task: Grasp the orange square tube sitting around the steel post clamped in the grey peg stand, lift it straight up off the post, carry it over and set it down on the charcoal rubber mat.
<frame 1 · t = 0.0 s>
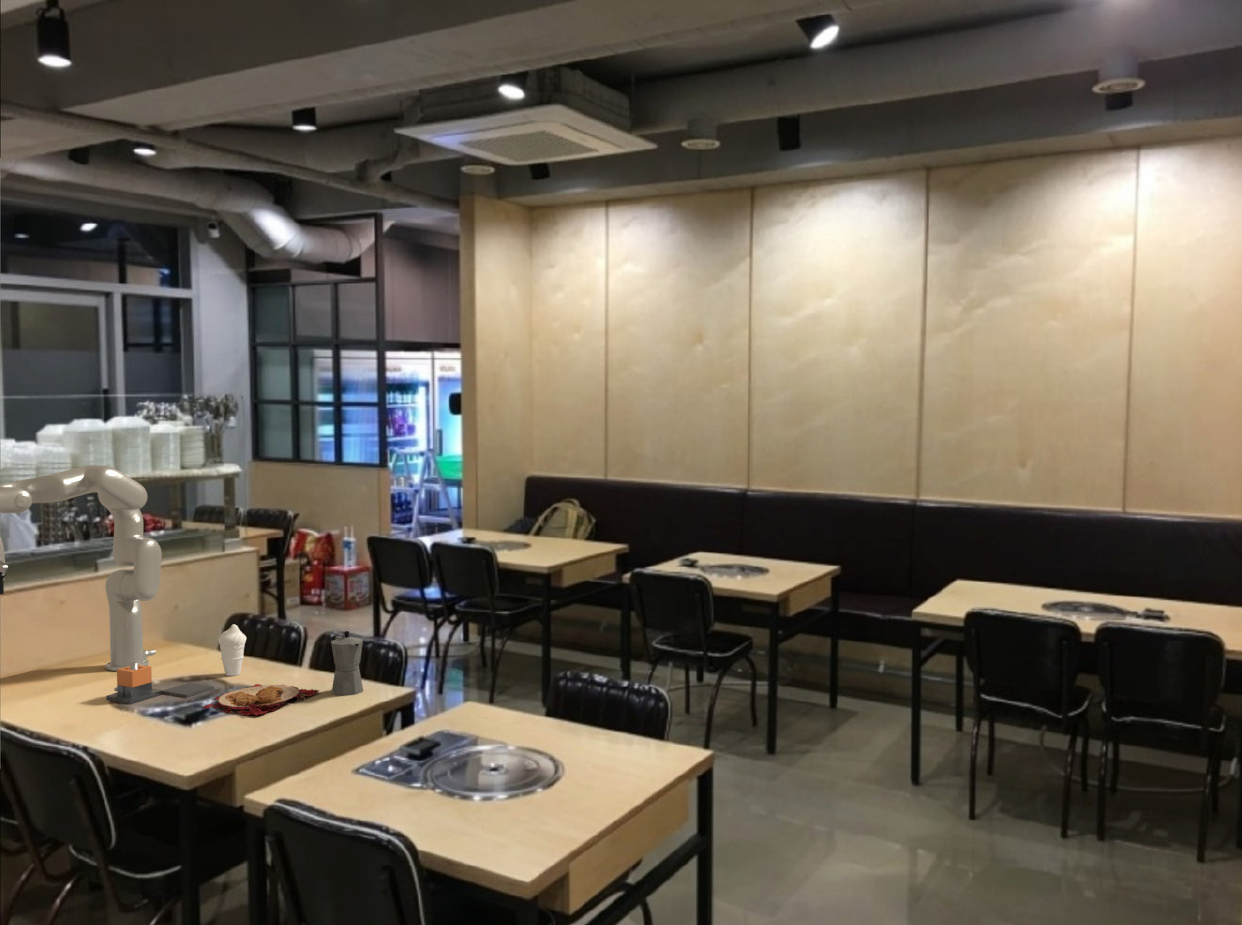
soft serve ice cream cone: (232, 674, 315), on the table
coffeepot: (345, 691, 296), on the table
orange square tube: (134, 683, 289), point 4 cm above the table, touching grey peg stand
mat: (188, 691, 296), on the table
grey peg stand: (134, 697, 290), on the table
plate with food: (257, 703, 286), on the table
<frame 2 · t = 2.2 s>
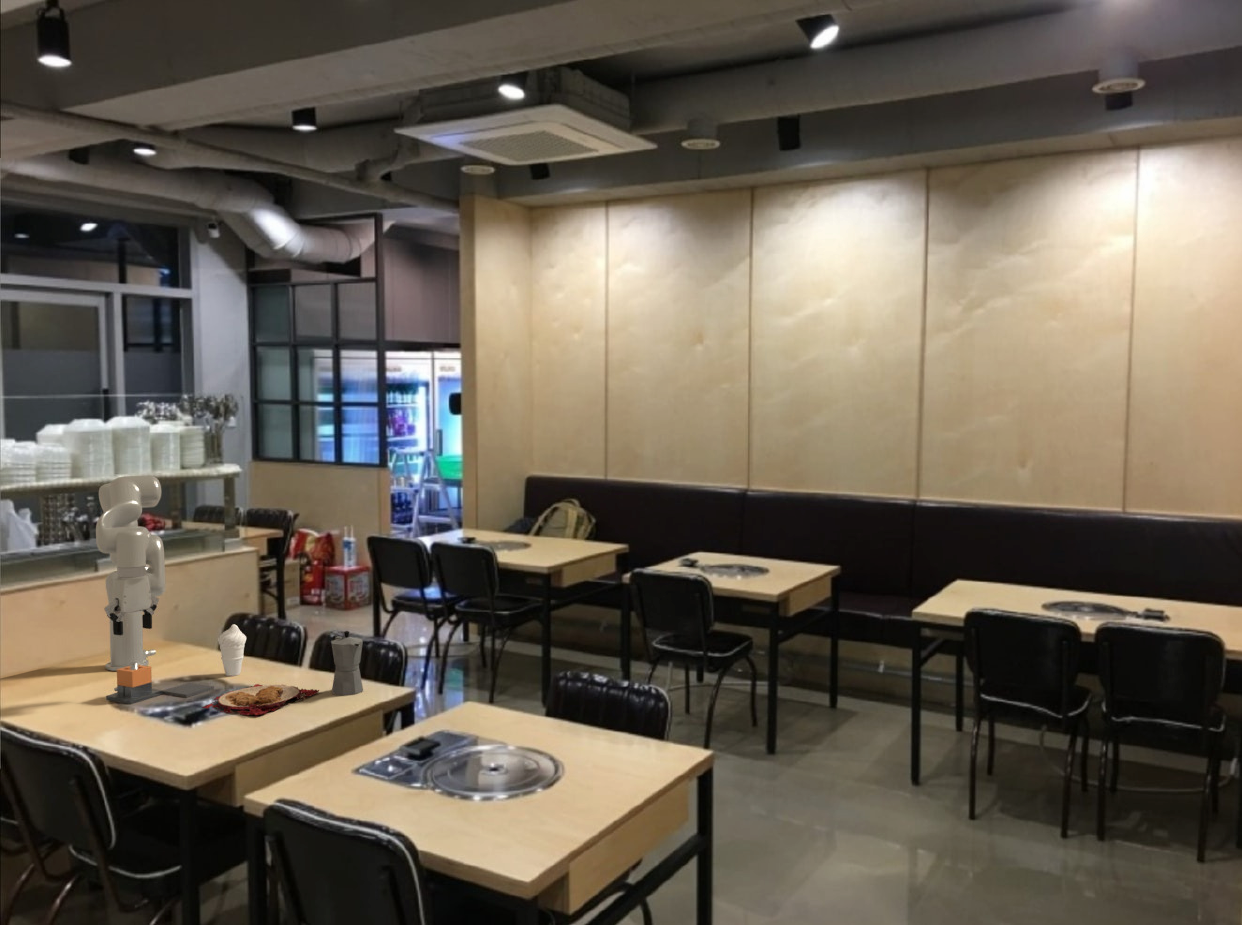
hand: (133, 631, 289), 19 cm above the table, fingers open, 9 cm apart
nothing on the table moved.
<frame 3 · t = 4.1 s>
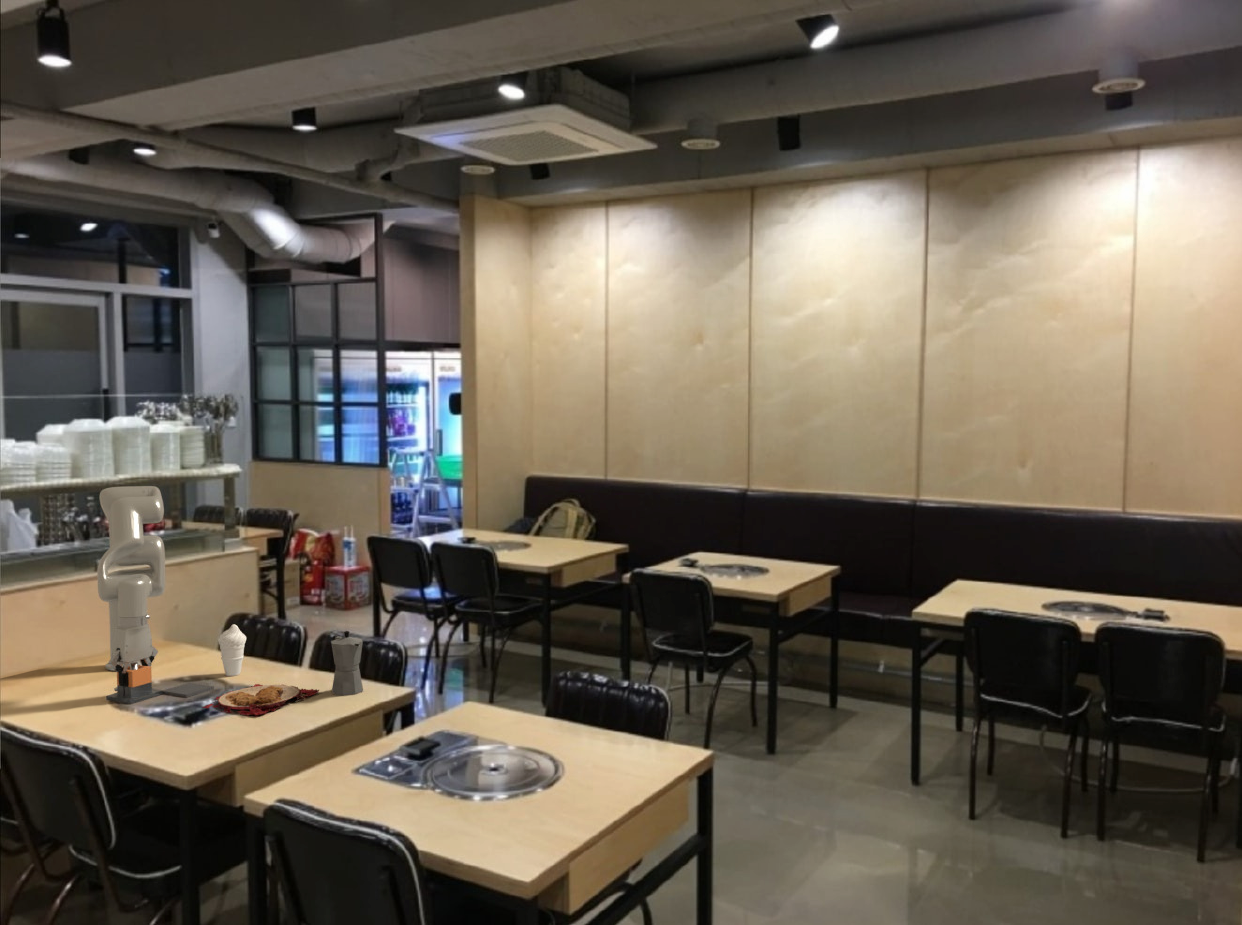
hand: (134, 682, 289), 4 cm above the table, fingers closed on orange square tube, 6 cm apart
orange square tube: (134, 683, 289), point 4 cm above the table, touching gripper, grey peg stand
everything else where it was.
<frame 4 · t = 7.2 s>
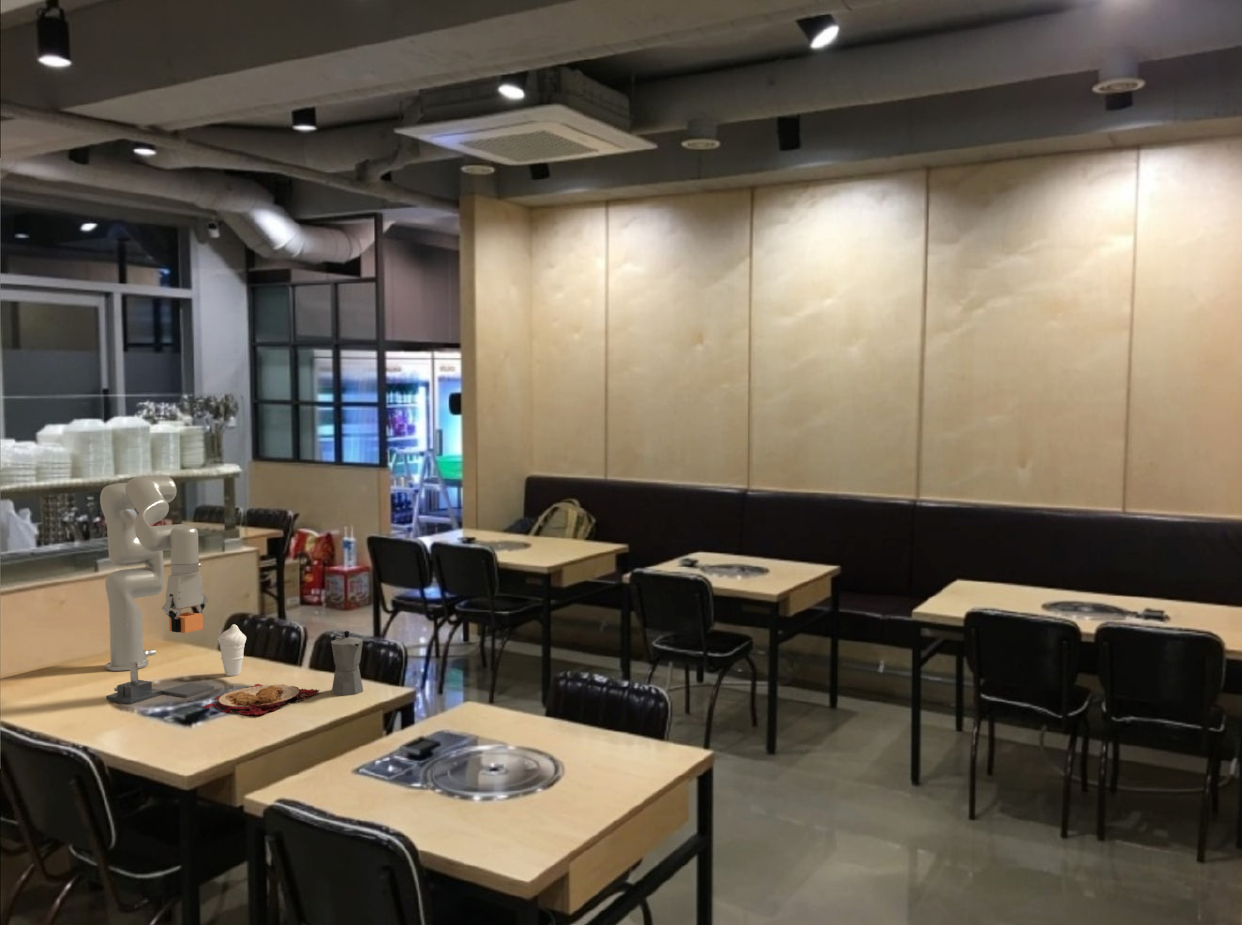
hand: (186, 628, 295), 19 cm above the table, fingers closed on orange square tube, 6 cm apart
orange square tube: (186, 629, 295), point 18 cm above the table, touching gripper
everything else where it was.
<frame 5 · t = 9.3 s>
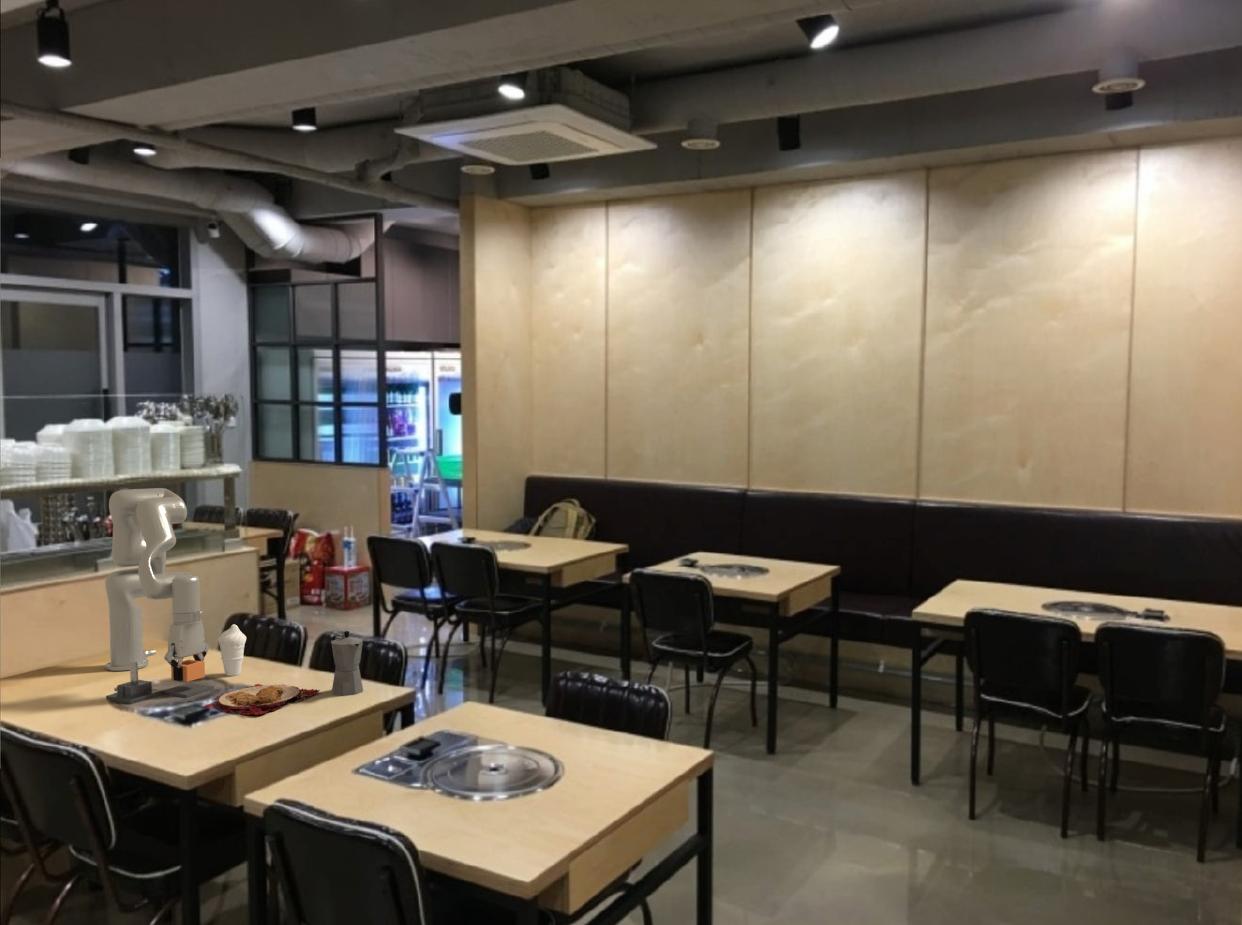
hand: (188, 677, 295), 4 cm above the table, fingers closed on orange square tube, 6 cm apart
orange square tube: (188, 678, 295), point 4 cm above the table, touching gripper
everything else where it was.
when the fingers open (3 cm above the table, at t = 10.6 s): orange square tube drops 1 cm, resting on mat.
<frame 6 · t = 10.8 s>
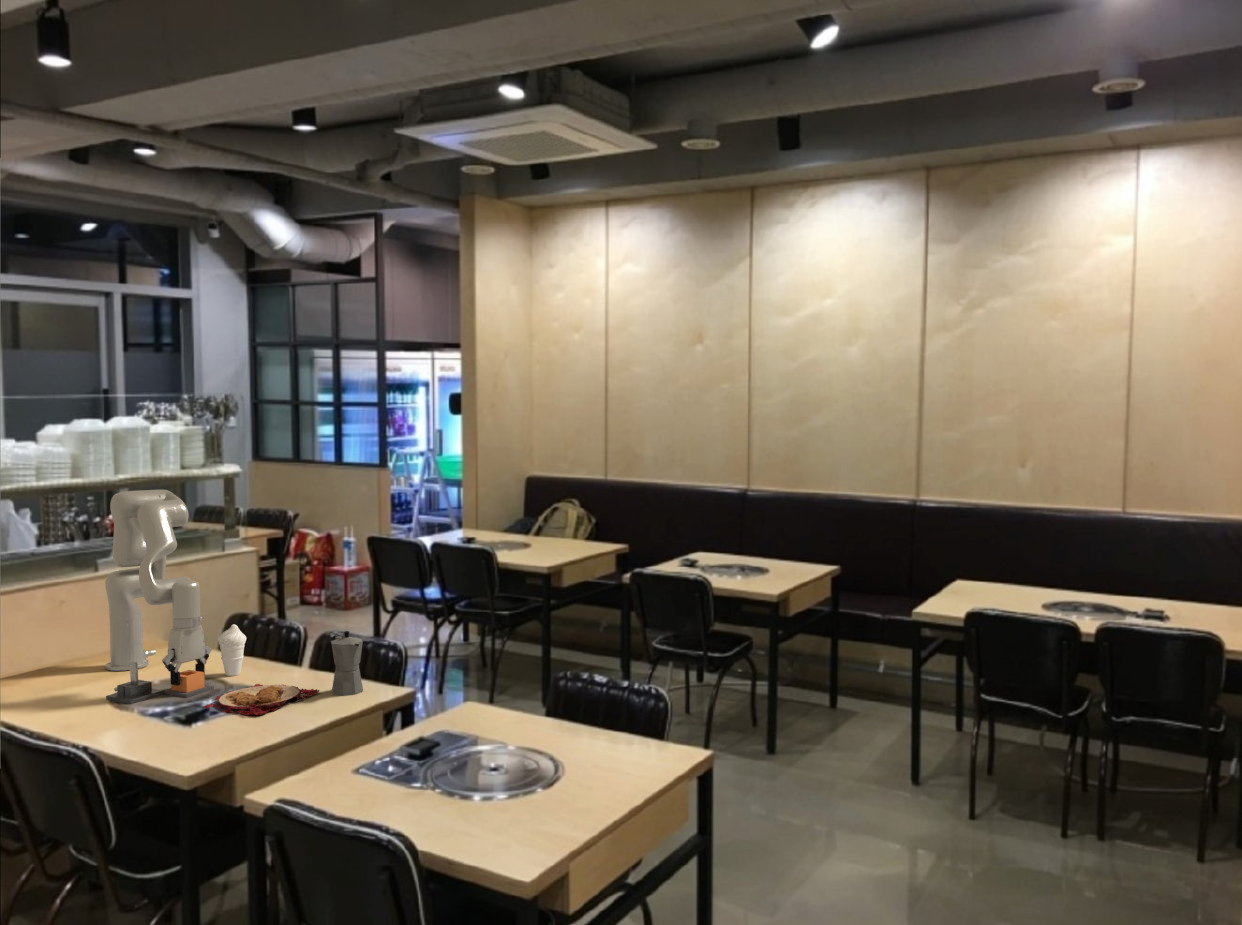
hand: (187, 680, 296), 3 cm above the table, fingers open, 8 cm apart
orange square tube: (188, 688, 296), point 1 cm above the table, touching mat
everything else where it was.
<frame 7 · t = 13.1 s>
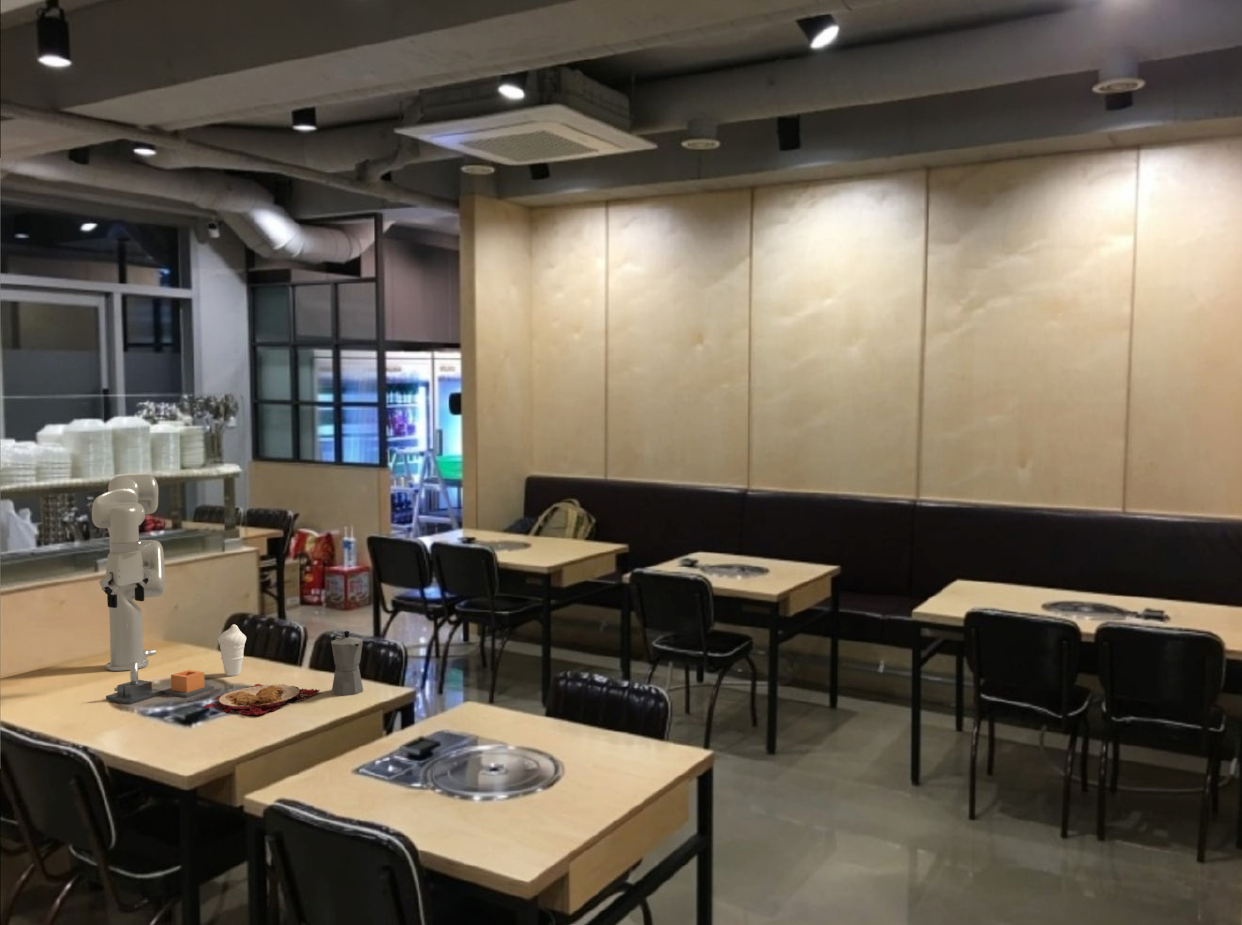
hand: (126, 604, 299), 25 cm above the table, fingers open, 9 cm apart
nothing on the table moved.
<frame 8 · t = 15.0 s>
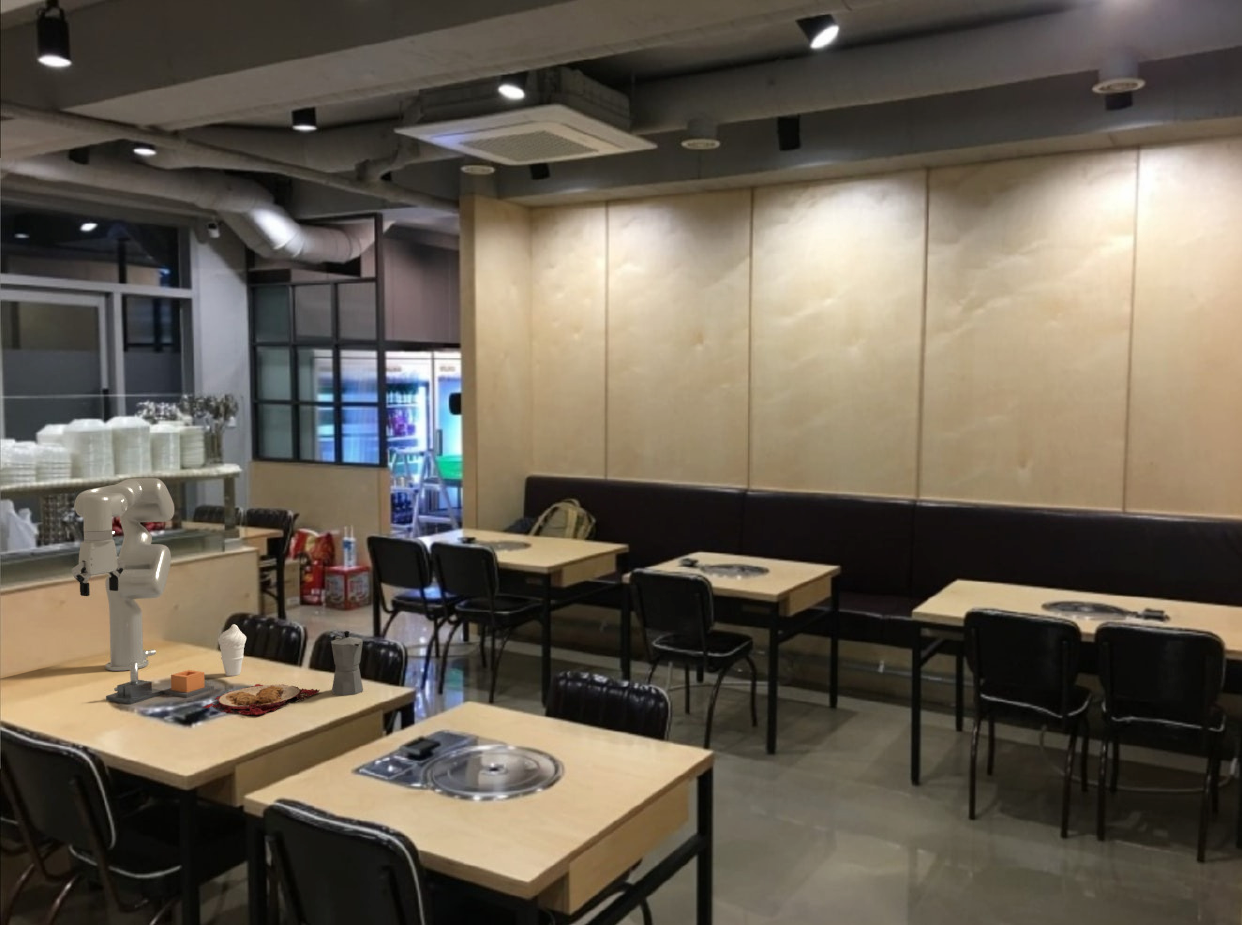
hand: (99, 593, 300), 28 cm above the table, fingers open, 9 cm apart
nothing on the table moved.
at the end: orange square tube inside the target area on the mat (0.0 cm from its centre), point 0.8 cm above the mat's base; orange square tube touching mat; the gripper is holding nothing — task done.
